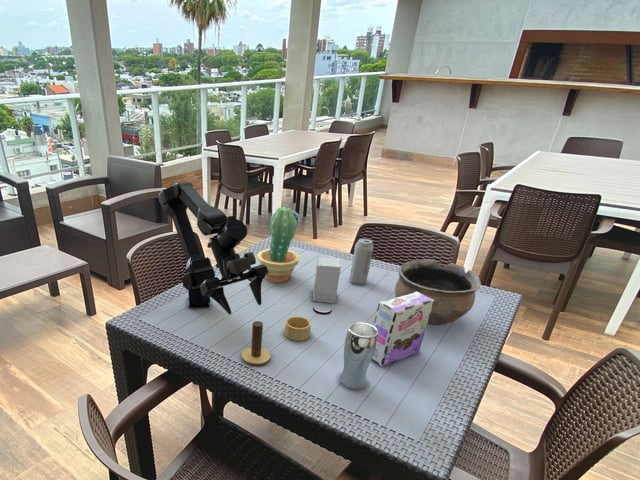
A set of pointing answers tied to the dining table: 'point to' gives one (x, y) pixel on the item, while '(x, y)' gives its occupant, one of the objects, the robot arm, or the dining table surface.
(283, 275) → the potted cactus
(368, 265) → the energy drink can
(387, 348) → the candy box
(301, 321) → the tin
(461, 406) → the dining table surface
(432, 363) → the dining table surface
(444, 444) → the dining table surface
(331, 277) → the white packaging box
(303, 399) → the dining table surface
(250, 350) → the peg on round base
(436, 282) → the ceramic bowl
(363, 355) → the beer glass
